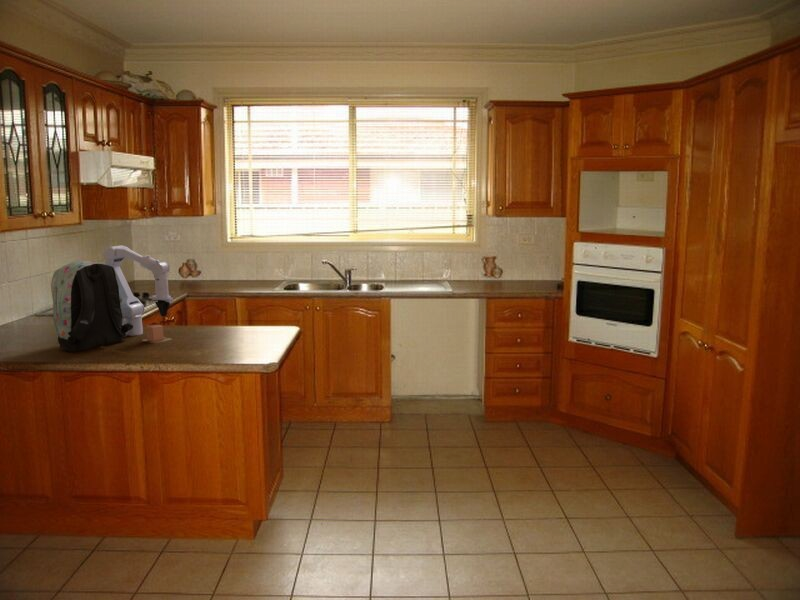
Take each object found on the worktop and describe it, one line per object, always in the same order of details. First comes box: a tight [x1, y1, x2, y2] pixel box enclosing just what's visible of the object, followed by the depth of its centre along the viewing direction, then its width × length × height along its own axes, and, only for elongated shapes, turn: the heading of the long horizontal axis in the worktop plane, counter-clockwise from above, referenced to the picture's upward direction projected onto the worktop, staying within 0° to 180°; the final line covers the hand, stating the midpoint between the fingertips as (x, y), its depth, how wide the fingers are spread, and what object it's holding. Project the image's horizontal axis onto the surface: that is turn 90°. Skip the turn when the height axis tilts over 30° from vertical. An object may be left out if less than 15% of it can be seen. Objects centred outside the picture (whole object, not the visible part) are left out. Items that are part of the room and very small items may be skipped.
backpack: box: [50, 259, 133, 353], centre depth 297 cm, size 32×24×39 cm
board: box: [141, 336, 173, 344], centre depth 307 cm, size 10×10×1 cm
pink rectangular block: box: [145, 324, 165, 342], centre depth 305 cm, size 5×5×7 cm
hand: (163, 316), depth 313 cm, fingers closed
